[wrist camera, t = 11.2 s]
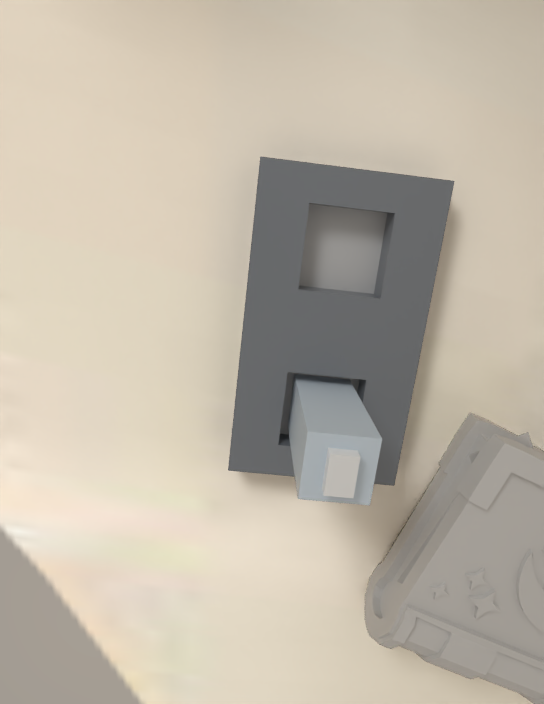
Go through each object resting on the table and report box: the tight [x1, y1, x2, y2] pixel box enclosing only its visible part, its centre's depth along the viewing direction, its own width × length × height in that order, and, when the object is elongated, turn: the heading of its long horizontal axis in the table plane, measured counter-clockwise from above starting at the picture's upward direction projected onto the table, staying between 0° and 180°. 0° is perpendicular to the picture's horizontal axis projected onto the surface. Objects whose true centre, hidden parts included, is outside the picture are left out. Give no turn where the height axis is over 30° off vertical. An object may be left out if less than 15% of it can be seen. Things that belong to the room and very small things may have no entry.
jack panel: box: [228, 157, 454, 486], centre depth 35 cm, size 21×12×2 cm, turn 173°
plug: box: [288, 374, 382, 505], centre depth 32 cm, size 4×4×11 cm
